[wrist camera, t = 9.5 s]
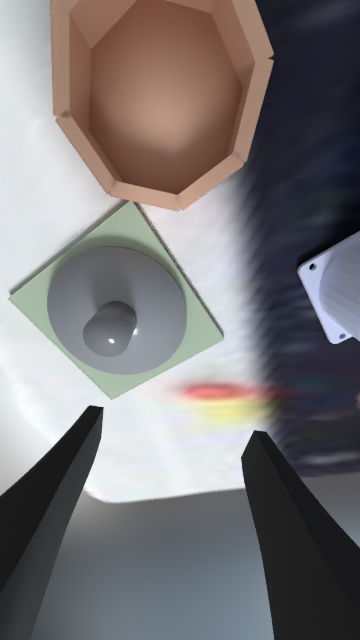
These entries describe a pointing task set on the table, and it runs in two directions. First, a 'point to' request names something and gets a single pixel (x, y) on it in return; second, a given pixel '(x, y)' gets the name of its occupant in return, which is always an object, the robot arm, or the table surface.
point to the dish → (159, 92)
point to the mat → (138, 235)
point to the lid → (117, 310)
